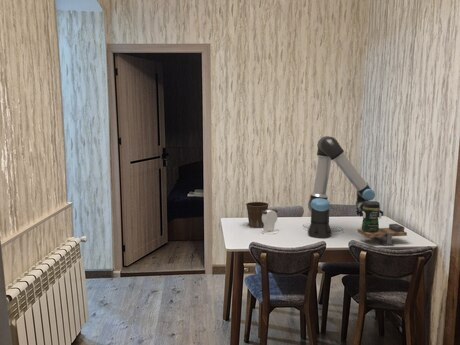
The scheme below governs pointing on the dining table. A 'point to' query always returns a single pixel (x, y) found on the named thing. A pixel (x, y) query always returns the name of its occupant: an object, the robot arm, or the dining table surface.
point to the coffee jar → (371, 216)
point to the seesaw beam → (385, 231)
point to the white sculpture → (269, 221)
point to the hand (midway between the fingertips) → (372, 216)
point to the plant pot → (256, 213)
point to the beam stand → (384, 240)
